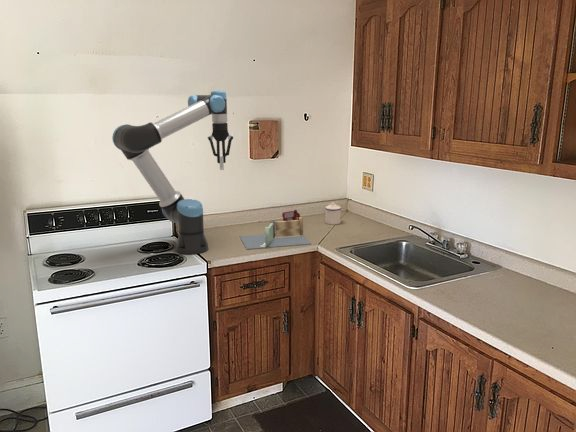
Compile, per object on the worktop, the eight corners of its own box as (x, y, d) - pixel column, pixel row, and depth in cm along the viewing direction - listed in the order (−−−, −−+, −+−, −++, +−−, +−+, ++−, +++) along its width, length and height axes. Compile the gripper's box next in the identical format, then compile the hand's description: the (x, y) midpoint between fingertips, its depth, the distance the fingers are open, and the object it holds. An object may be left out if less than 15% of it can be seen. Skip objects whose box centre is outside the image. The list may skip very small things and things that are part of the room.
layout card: (246, 249, 240) (246, 248, 239) (239, 236, 260) (239, 235, 260) (311, 244, 247) (311, 243, 247) (299, 232, 268) (299, 231, 268)
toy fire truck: (305, 228, 275) (305, 210, 272) (287, 232, 268) (287, 213, 265) (297, 226, 280) (297, 207, 278) (279, 229, 273) (279, 211, 270)
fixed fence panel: (271, 239, 256) (270, 220, 254) (270, 237, 258) (269, 218, 256) (303, 236, 260) (303, 217, 258) (302, 235, 262) (302, 216, 260)
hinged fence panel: (270, 237, 256) (270, 220, 254) (274, 237, 256) (273, 220, 253) (264, 245, 242) (264, 227, 240) (269, 245, 242) (268, 227, 240)
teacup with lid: (344, 223, 285) (344, 203, 282) (331, 225, 280) (331, 205, 277) (331, 218, 295) (331, 199, 292) (318, 221, 290) (318, 201, 287)
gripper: (232, 121, 256) (233, 167, 262) (205, 122, 253) (207, 169, 259) (234, 122, 249) (235, 170, 255) (207, 123, 246) (209, 171, 252)
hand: (221, 169), depth 257 cm, fingers closed
